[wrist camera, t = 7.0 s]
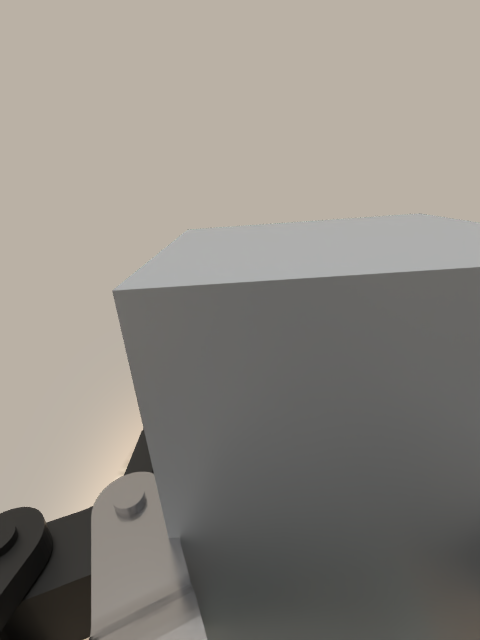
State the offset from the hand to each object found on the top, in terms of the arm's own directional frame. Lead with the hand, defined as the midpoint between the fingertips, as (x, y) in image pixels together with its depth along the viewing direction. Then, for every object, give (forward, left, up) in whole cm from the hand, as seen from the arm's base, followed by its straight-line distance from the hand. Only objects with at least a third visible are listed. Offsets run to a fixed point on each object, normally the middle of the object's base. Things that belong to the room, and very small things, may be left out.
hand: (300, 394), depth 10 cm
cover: (0, +3, -7) cm, 7 cm away
